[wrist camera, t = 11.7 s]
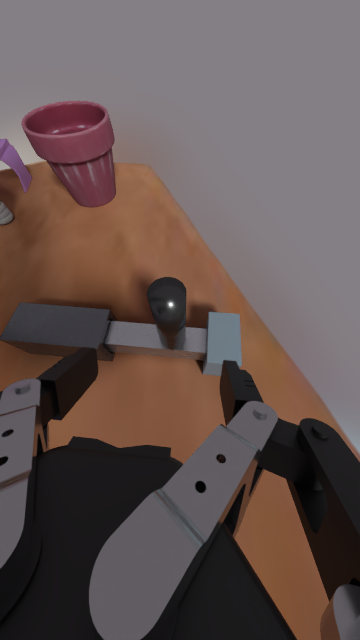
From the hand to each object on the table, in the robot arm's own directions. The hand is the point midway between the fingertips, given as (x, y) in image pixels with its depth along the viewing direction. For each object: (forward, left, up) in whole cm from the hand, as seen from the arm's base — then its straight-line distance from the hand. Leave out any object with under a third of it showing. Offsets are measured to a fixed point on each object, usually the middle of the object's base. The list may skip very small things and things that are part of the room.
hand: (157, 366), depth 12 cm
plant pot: (-22, +40, -13) cm, 47 cm away
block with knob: (-3, +6, -12) cm, 14 cm away
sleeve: (-14, +6, -13) cm, 20 cm away
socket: (+6, +6, -13) cm, 15 cm away
